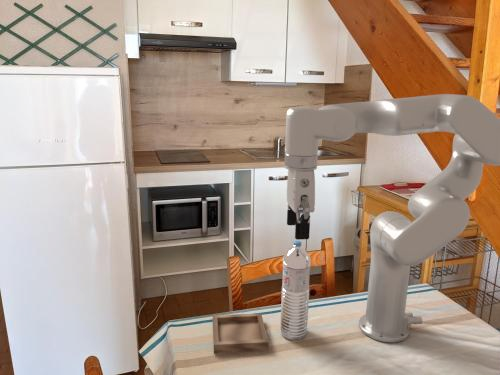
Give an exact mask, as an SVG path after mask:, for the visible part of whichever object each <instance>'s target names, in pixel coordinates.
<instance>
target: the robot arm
mask: <svg viewBox="0 0 500 375" xmlns="http://www.w3.org/2000/svg"><path fill="white" fill-rule="evenodd" d="M285 115H286V116H285V138H284V140H285V141H284V144H285V146H284V162H283V163H284V164H283V166H284V168H285V169H287V170H288V171H287V182H286V202H287V210H286V211H287V212H286V213H287V215H286V226H295V228H294V239H296V241H300V240H309V239H310V229H311V228H310V227H311V215H310V214H311V213H314V212H315V209H316V208H315V207H316V177H315V170H317V169H318V158H319V157H318V156H319V155H318V154H319V142H320V141H319V140H323V141H329V142H336V143H337V142H345V141H347V140H349V139H351V138H352V137H354V135H355V134H364V133H366V134H367V133H368V134H375V135H381V136H382V135H383V136H393V137H394V136H396V137H397V136H398V137H399V136H407V135H416V134H424V133H426V134H427V133H429V134H430V133H437V132H445V133H451V134H454V136H453V140H452V153H451V158H450V161H449V163H447V166H446V167H445V168H444V169H443V170H441V171H440V173H438V174H437V175H436V176H434V177H433V178H432V179H431V180H429V181H428V182H426V184H424V185H423V186H421V188H419V189H417V190H416V191H415V192H414V193H413V194H412V195H411V196H410V198H409V199H408V202H407V210H408V212H409V214H410V215H411V216H412V217H413V218H414V220H413V221H412V220H411V219H409V217H407V216H405V215H404V214H402V213H400V212H397V211H391V210H389V211H383V212H381V213H379V214H378V215H377V216H376V217H375V218H374V220H372V222H371V226H370V231H369V239H370V264H369V265H370V266H369V277H368V286H367V296H366V297H367V298H366V307H365V308H366V310H365V311H366V312H365V314H363V315H362V316H361V317H360V318H359V322H358V327H359V328H360V331H361V332H362V333H363V334H364V335H366V336H368V337H369V338H371V339H373V340H374V341H375V340H376V341H379V342H385V343H398V342H403V341H405V340H406V339H407V338H408V337H409V335H410V326H411V325H422V324H423V318H422V316H419V315H418V316H414V315H413V312H406V307H407V306H406V305H407V298H408V291H409V290H408V289H409V279H410V272H411V267H413V266H417V265H420V264H423V263H424V262H426V261H427V260H428V259H430V258H431V257H433V256H434V255H435V254H436V253H437V252H439V251H440V250H442V249H443V248H444V247H445V246H448V245H449V243H451V242H452V241H454V240H455V239H456V238H457V237H459V236H460V235H461V234H462V233H463V232H464V230H465V229H466V227H467V226H468V224H469V221H470V219H471V212H470V210H471V209H470V207H469V205H468V203H467V202H466V201H465V200H466V199H467V198H469V196H471V195H473V193H474V192H475V191H476V190H477V189H478V187H479V186H480V183H481V181H482V177H483V171H484V164H486V165H489V166H494V167H495V166H496V167H497V166H499V167H500V117H498V116H497V115H496V114H495V113H494V112H493V111H492V110H491V109H490V108H488V107H487V106H486V105H485V104H484V103H482V101H480V100H478V99H477V98H475V97H473V96H472V95H471V96H470V95H466V94H453V93H452V94H451V93H441V94H429V95H420V96H419V95H418V96H410V97H400V98H398V97H397V98H388V99H386V98H385V99H379V100H369V101H358V102H345V103H333V104H326V105H323V106H320V107H319V108H315V107H312V106H311V107H310V106H293V107H290V108H288V110H287V112H286V114H285Z"/></svg>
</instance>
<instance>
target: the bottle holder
mask: <svg viewBox="0 0 500 375" xmlns="http://www.w3.org/2000/svg"><path fill="white" fill-rule="evenodd" d="M265 327H266V326H265V323H264V318H263V314H262V313H261V312H259V313H243V314H242V313H236V314H219V315H218V314H217V315H215V314H214V315H212V337H213V338H212V339H213V342H212V343H213V354H225V353H226V354H228V353H229V354H231V353H245V352H246V353H249V352H263V351H264V352H266V351H269V342H270V341H269V339H268V335H267V331H266V328H265Z"/></svg>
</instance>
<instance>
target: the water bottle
mask: <svg viewBox="0 0 500 375" xmlns="http://www.w3.org/2000/svg"><path fill="white" fill-rule="evenodd" d="M311 264H312V259H311V256H310V254H309V253H308V252H307V250H305V249H304V248H303V247H302V241H300V240H294V241H293V247H291V248H289V249H288V250H287V251H286V252H285V253H284V254H283V257H282V286H281V304H280V327H279V328H280V330H279V331H280V334H281V335H282V337H284V338H285V339H287V340H289V341H300V340H303V339H304V338H305V337H306V336H307V334H308V320H309V302H310V301H309V300H310V299H309V298H310V276H311V274H310V273H311Z"/></svg>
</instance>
